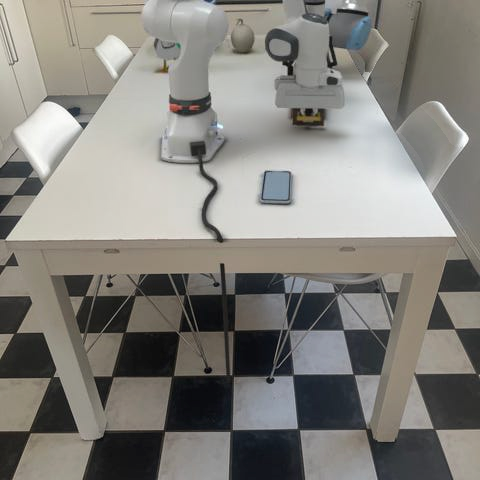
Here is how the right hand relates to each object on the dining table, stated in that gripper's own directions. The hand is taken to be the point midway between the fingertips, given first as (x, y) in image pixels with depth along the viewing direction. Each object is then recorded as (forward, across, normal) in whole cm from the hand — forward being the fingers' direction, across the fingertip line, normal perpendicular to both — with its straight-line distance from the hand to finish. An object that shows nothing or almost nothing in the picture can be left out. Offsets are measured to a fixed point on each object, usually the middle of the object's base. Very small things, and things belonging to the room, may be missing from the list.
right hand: (308, 86), depth 176 cm
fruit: (+5, +29, -62) cm, 69 cm away
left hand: (+2, 0, +27) cm, 27 cm away
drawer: (+4, 0, +17) cm, 18 cm away
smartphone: (+6, +8, +62) cm, 63 cm away
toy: (+5, +55, -33) cm, 65 cm away
